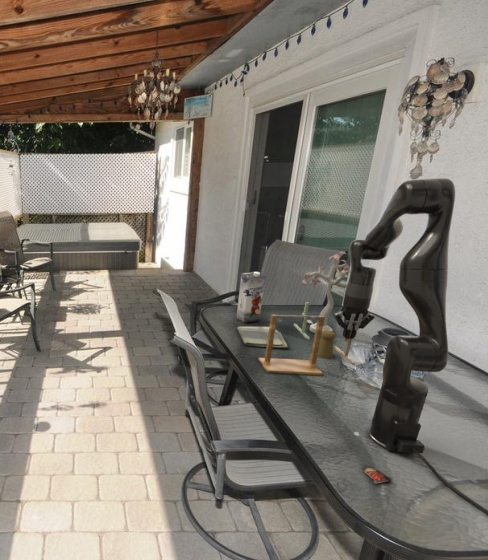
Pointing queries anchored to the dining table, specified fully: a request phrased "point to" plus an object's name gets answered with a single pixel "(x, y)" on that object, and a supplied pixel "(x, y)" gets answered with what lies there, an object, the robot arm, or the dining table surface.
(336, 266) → the decorative tree
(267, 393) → the dining table surface
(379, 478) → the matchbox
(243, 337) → the pale green square plate
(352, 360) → the hanger
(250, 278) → the juice carton
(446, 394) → the dining table surface
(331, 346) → the cork
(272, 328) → the rack
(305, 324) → the hanger
